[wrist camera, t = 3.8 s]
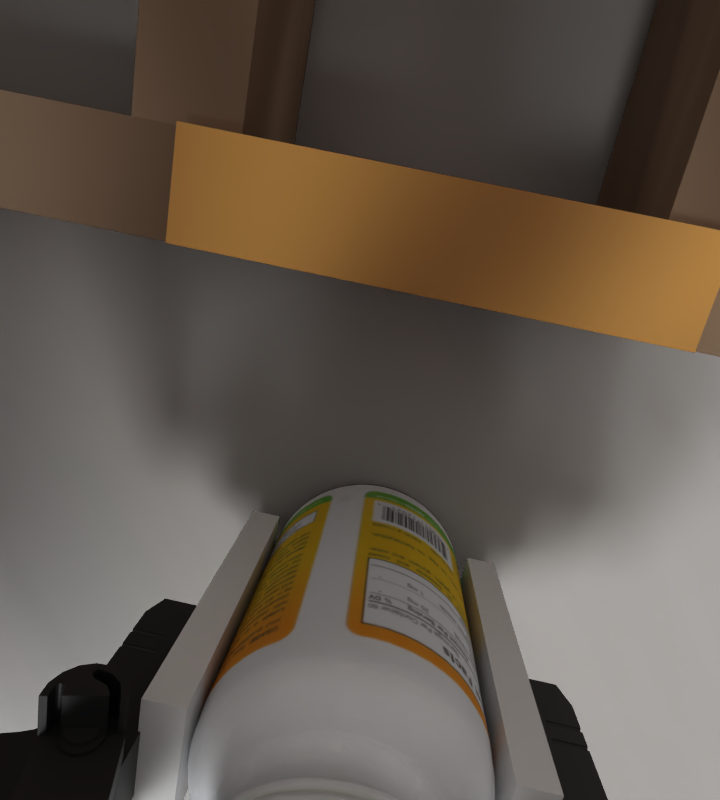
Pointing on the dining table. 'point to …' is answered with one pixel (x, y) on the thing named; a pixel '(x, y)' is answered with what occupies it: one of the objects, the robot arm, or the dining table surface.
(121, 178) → the rack
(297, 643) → the supplement bottle
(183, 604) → the robot arm
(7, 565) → the dining table surface
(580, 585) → the dining table surface
